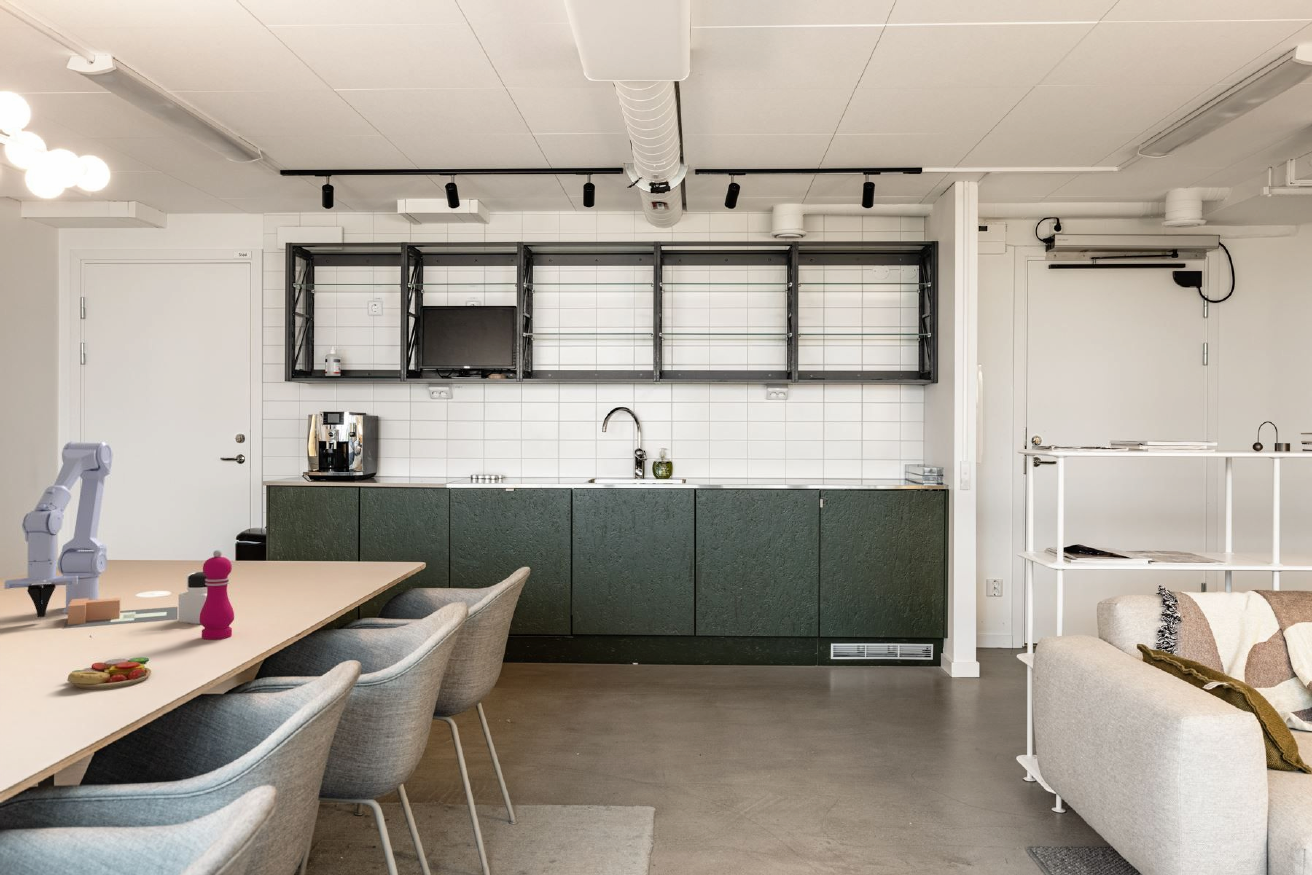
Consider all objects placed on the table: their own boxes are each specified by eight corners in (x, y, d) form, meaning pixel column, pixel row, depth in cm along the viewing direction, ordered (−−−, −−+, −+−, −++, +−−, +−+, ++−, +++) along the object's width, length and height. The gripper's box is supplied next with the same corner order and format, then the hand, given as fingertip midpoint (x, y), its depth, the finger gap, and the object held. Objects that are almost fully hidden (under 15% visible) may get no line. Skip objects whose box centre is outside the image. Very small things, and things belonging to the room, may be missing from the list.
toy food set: (62, 695, 160) (62, 677, 160) (76, 676, 172) (76, 659, 172) (147, 687, 165) (147, 669, 165) (155, 669, 177) (155, 653, 177)
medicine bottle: (222, 618, 225) (222, 570, 225) (205, 624, 218) (205, 575, 218) (195, 617, 226) (195, 570, 226) (177, 623, 219) (178, 574, 219)
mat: (70, 616, 226) (70, 614, 226) (177, 608, 237) (177, 606, 237) (62, 630, 210) (62, 628, 210) (177, 620, 221) (177, 619, 221)
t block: (72, 617, 223) (72, 599, 223) (120, 613, 228) (121, 595, 228) (67, 624, 214) (67, 606, 214) (118, 620, 219) (118, 602, 219)
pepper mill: (241, 634, 207) (242, 548, 207) (216, 641, 200) (217, 552, 200) (216, 632, 209) (217, 547, 209) (191, 638, 203) (192, 550, 203)
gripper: (2, 564, 209) (1, 622, 209) (76, 560, 215) (75, 616, 215) (7, 560, 215) (6, 616, 215) (78, 557, 222) (78, 611, 222)
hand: (41, 616), depth 216 cm, fingers closed
